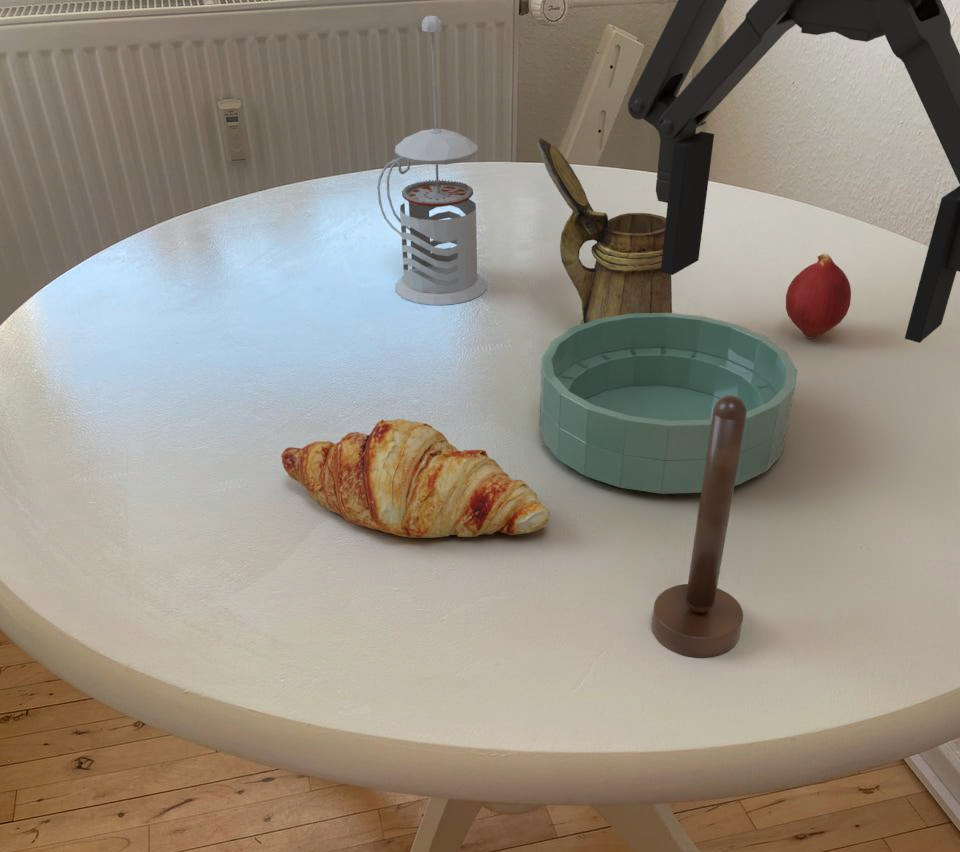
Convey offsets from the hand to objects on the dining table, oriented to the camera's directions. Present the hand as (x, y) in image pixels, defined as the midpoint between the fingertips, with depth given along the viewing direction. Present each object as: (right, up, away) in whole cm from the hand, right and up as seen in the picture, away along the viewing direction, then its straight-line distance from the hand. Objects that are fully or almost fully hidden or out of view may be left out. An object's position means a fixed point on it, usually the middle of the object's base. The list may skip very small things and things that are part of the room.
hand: (793, 297), depth 54 cm
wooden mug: (-4, +11, +47) cm, 48 cm away
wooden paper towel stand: (-2, -17, +14) cm, 22 cm away
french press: (-21, +20, +58) cm, 65 cm away
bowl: (-1, -1, +33) cm, 33 cm away
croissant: (-21, -8, +24) cm, 33 cm away
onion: (+16, +11, +47) cm, 51 cm away
